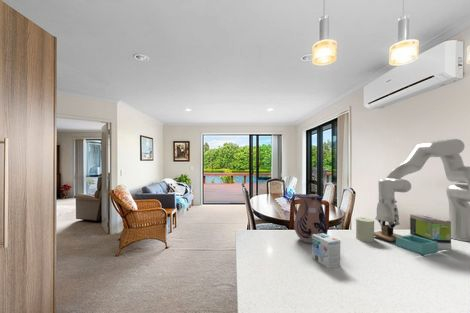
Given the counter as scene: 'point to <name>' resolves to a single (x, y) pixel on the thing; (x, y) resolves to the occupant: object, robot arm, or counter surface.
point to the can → (365, 229)
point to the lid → (386, 234)
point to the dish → (417, 244)
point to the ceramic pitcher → (309, 216)
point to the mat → (384, 239)
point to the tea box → (431, 229)
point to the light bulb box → (326, 250)
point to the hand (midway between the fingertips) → (387, 233)
